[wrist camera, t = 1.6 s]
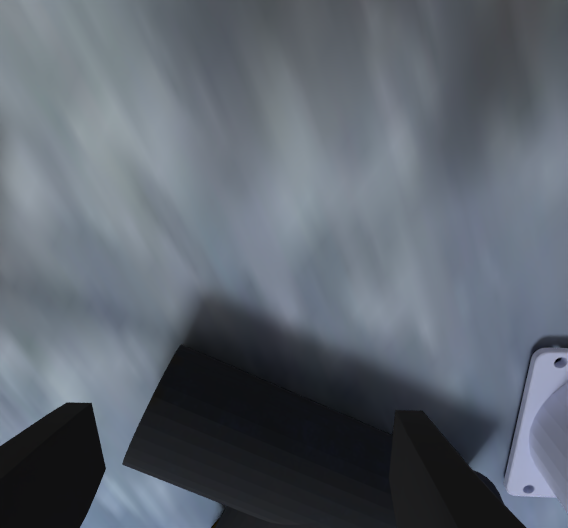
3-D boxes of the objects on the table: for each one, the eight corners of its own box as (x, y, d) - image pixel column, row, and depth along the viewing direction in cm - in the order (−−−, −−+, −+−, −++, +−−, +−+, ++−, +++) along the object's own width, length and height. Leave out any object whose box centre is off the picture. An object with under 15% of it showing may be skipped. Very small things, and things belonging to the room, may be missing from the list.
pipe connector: (376, 713, 18) (61, 601, 17) (361, 587, 23) (118, 492, 22) (532, 554, 15) (149, 396, 13) (474, 446, 20) (192, 323, 18)
